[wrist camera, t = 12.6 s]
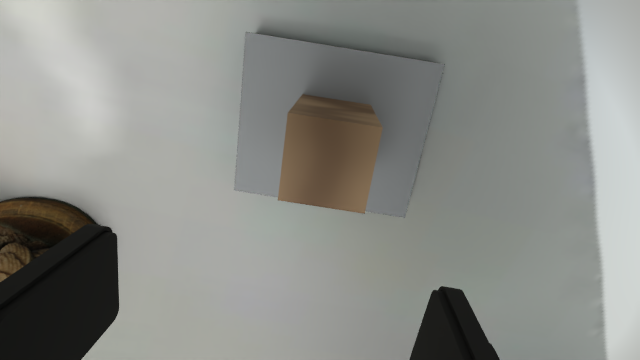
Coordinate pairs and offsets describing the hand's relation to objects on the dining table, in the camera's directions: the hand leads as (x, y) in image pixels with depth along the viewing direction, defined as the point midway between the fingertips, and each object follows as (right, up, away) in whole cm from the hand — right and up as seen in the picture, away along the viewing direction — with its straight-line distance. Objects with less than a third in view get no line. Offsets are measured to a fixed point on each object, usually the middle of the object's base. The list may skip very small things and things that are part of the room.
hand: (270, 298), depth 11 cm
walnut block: (+2, +7, +17) cm, 18 cm away
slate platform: (+3, +8, +19) cm, 21 cm away
